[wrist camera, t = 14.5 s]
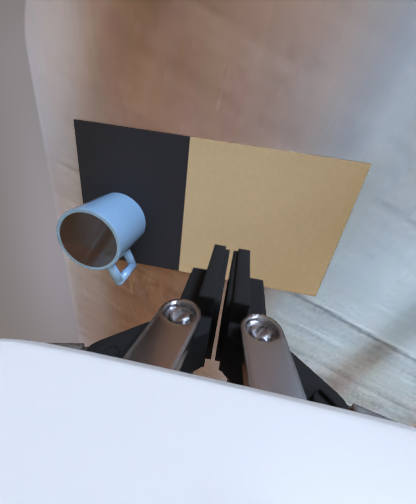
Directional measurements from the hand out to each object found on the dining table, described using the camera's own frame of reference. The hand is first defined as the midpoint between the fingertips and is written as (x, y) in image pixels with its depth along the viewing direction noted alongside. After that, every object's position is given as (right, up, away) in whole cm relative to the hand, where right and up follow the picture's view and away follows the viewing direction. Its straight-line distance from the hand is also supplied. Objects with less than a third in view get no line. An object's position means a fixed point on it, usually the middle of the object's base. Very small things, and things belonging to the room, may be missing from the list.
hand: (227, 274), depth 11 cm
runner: (-1, +6, +20) cm, 21 cm away
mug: (-13, +4, +22) cm, 26 cm away
